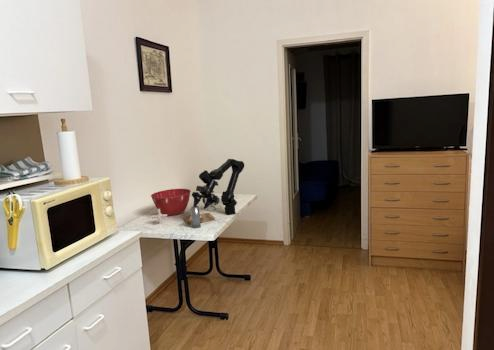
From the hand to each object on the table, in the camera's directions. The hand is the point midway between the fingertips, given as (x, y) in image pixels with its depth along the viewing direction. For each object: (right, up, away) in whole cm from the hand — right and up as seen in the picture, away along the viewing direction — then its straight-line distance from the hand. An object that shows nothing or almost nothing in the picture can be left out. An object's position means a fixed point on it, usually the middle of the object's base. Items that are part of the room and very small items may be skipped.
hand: (198, 208), depth 238 cm
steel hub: (-1, -12, -1) cm, 12 cm away
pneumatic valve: (+5, -5, +37) cm, 38 cm away
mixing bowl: (-24, -7, +38) cm, 45 cm away
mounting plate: (-2, -9, +15) cm, 18 cm away
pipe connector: (-27, -12, +13) cm, 33 cm away
